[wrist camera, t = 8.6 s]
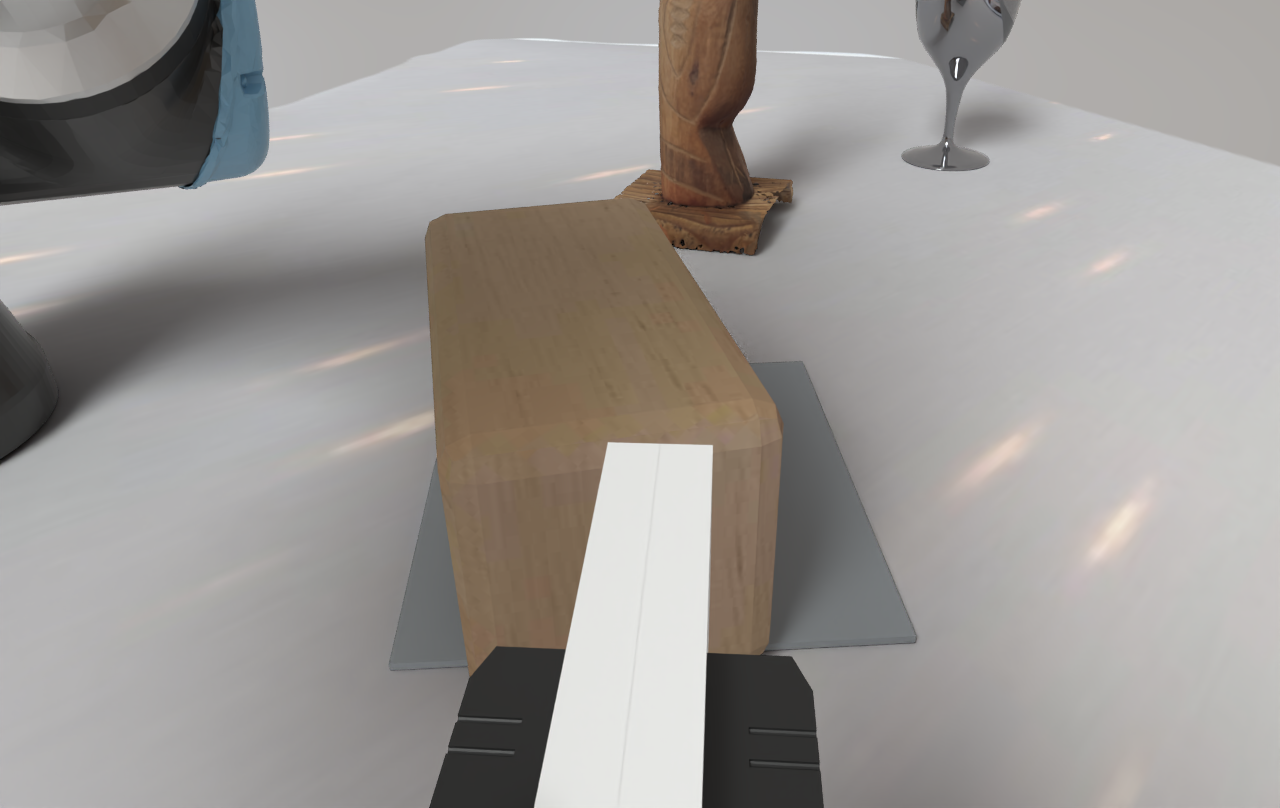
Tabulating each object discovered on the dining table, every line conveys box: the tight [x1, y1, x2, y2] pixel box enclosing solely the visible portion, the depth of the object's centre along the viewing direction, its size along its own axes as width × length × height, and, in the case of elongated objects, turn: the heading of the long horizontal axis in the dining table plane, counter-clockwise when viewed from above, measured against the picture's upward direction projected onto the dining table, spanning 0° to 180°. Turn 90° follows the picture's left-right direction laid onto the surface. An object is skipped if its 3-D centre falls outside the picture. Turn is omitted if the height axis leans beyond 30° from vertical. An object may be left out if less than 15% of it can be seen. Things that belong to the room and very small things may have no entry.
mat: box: [389, 361, 916, 670], centre depth 42 cm, size 20×18×1 cm
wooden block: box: [425, 198, 784, 676], centre depth 37 cm, size 10×10×20 cm
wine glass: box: [901, 0, 1021, 171], centre depth 77 cm, size 8×8×15 cm
